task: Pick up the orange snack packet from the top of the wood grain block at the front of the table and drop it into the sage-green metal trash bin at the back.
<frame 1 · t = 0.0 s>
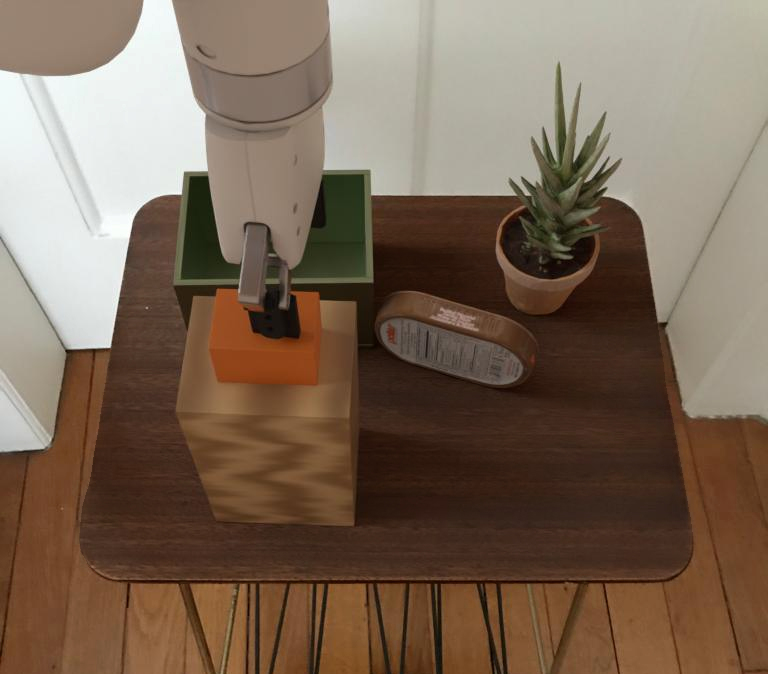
hand: (291, 276, 62), 22 cm above the table, tool pointing down, fingers open, 9 cm apart
wood grain block: (289, 473, 80), on the table
trash bin: (285, 294, 89), on the table
packet: (270, 354, 64), point 18 cm above the table, touching gripper, wood grain block
tin: (450, 369, 85), on the table
potted plant: (535, 294, 89), on the table
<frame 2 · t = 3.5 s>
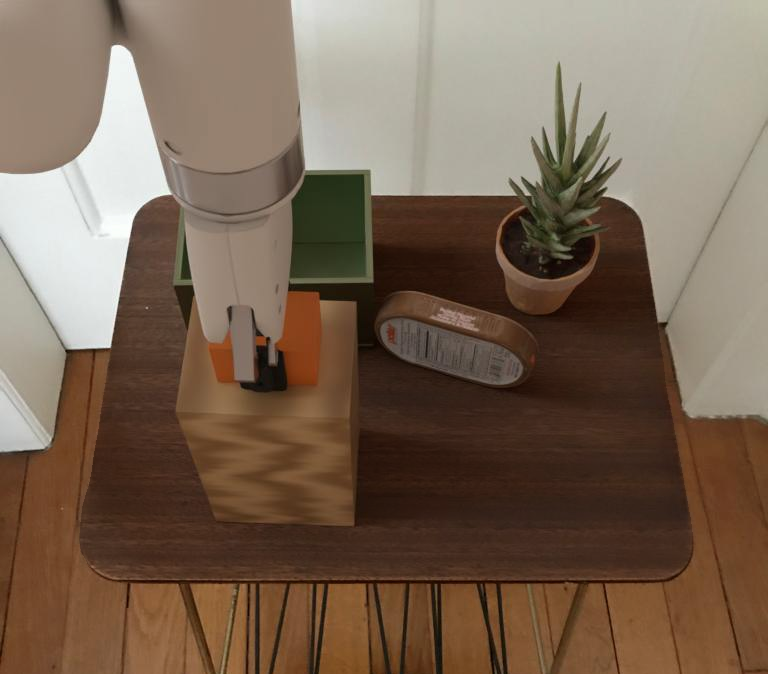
hand: (268, 351, 63), 18 cm above the table, tool pointing down, fingers closed on packet, 5 cm apart
packet: (270, 354, 64), point 18 cm above the table, touching gripper, wood grain block
everything else where it was.
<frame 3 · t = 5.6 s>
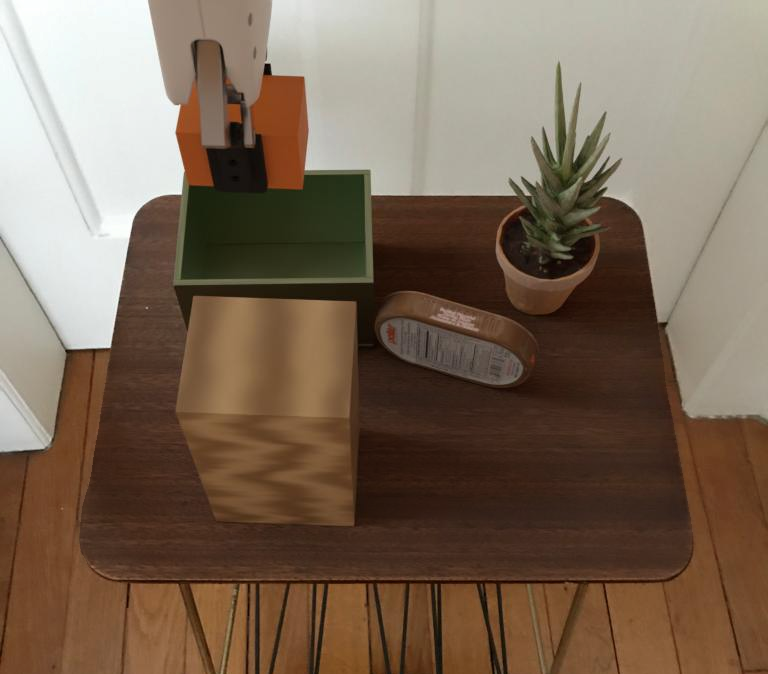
hand: (246, 152, 55), 30 cm above the table, tool pointing down, fingers closed on packet, 5 cm apart
packet: (249, 157, 56), point 30 cm above the table, touching gripper
everything else where it was.
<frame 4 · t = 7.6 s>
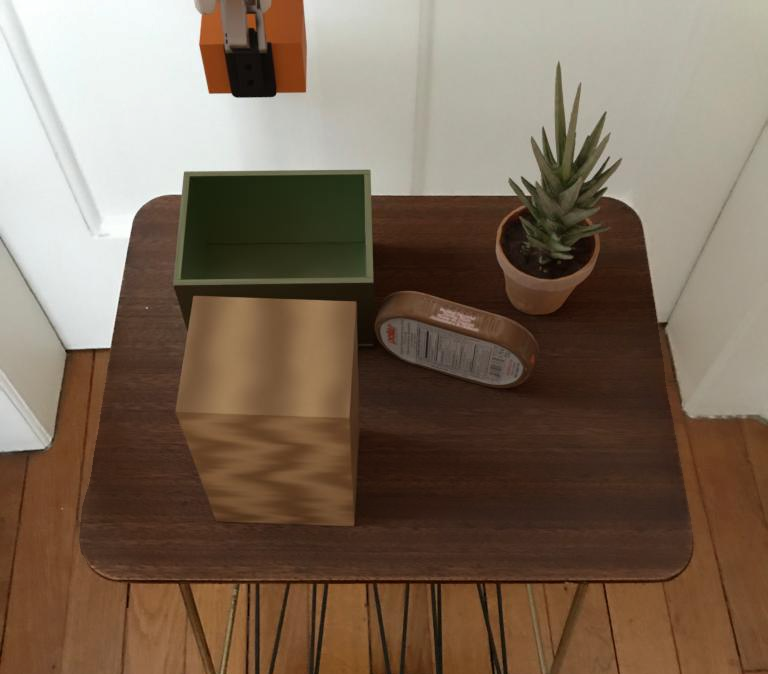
hand: (255, 64, 65), 26 cm above the table, tool pointing down, fingers closed on packet, 5 cm apart
packet: (258, 69, 66), point 25 cm above the table, touching gripper
everything else where it was.
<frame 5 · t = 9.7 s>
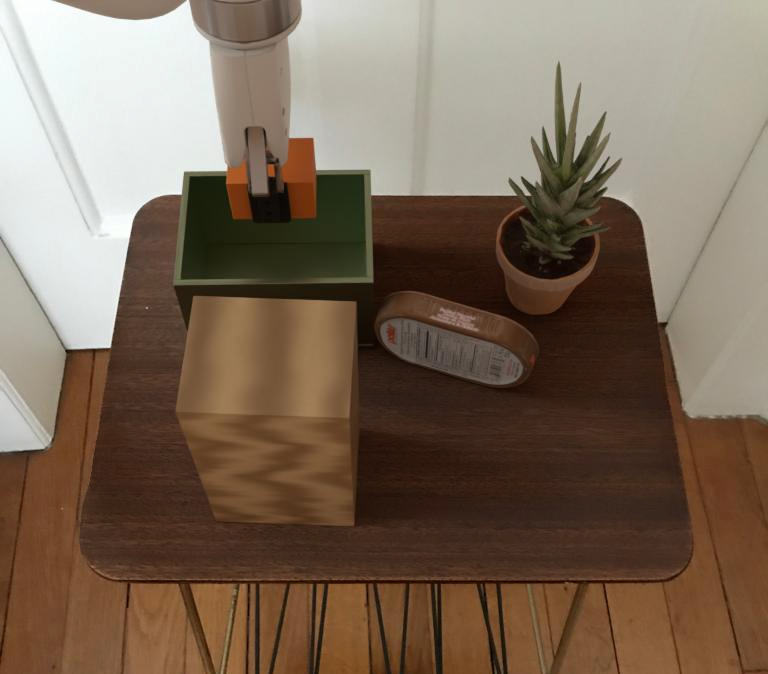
hand: (273, 193, 77), 13 cm above the table, tool pointing down, fingers closed on packet, 5 cm apart
packet: (275, 196, 77), point 13 cm above the table, touching gripper
everything else where it was.
when the fingers open (8 cm above the table, at t = 11.6 s): packet drops 7 cm, resting on trash bin.
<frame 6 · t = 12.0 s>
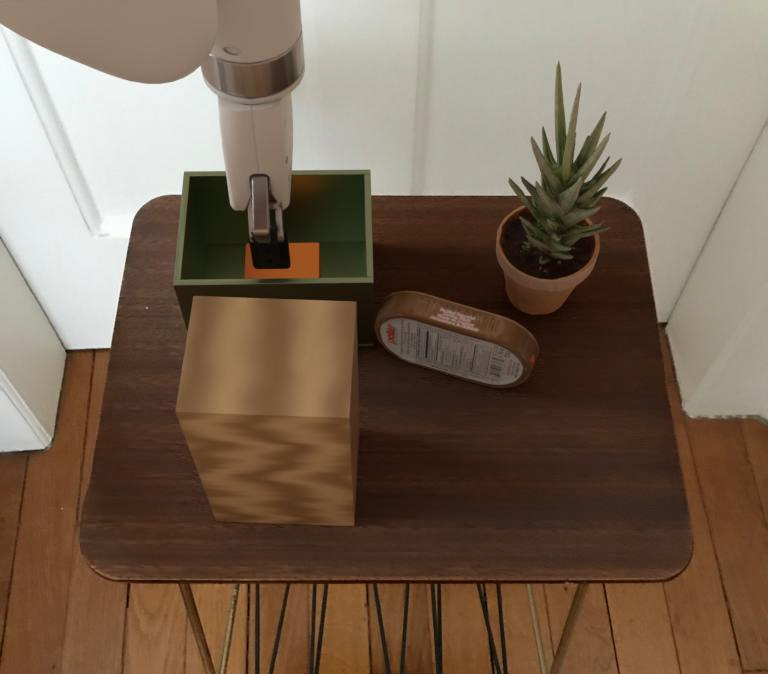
hand: (273, 223, 80), 10 cm above the table, tool pointing down, fingers open, 9 cm apart
packet: (285, 290, 88), point 1 cm above the table, touching trash bin
everything else where it was.
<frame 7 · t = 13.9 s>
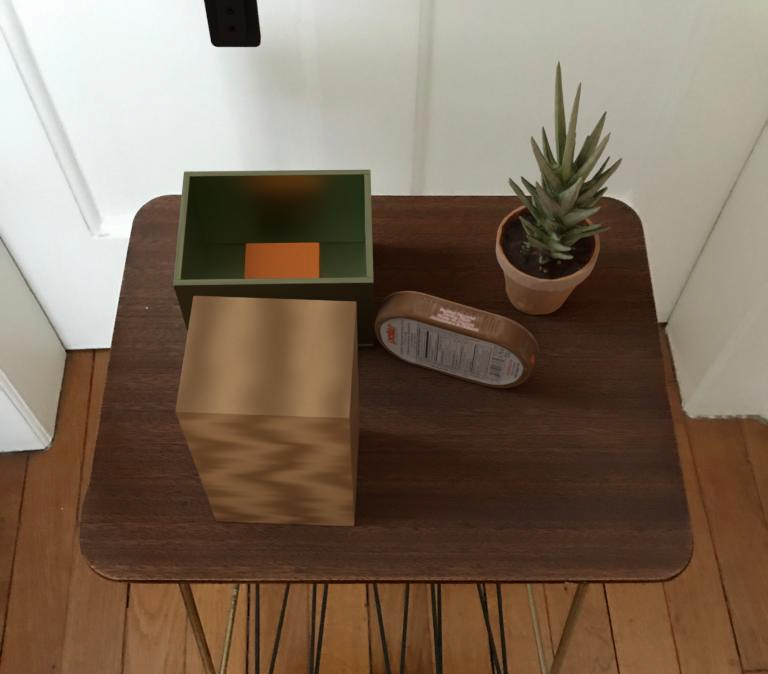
nothing on the table moved.
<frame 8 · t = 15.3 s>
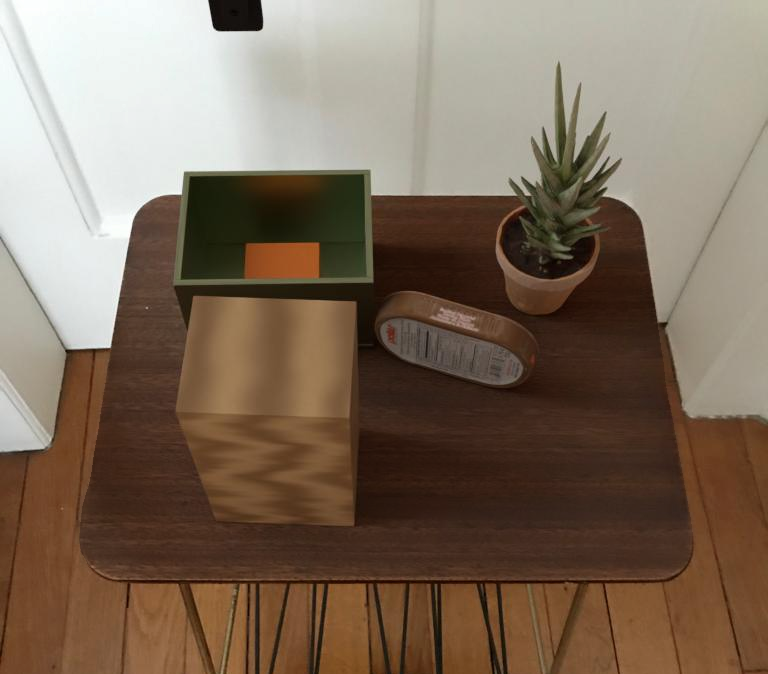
nothing on the table moved.
at the end: packet inside the target area in the trash bin (0.1 cm from its centre), point 0.6 cm above the trash bin's base; the gripper is holding nothing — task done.
